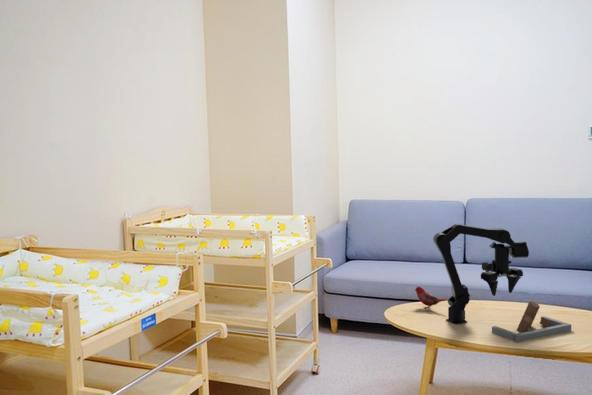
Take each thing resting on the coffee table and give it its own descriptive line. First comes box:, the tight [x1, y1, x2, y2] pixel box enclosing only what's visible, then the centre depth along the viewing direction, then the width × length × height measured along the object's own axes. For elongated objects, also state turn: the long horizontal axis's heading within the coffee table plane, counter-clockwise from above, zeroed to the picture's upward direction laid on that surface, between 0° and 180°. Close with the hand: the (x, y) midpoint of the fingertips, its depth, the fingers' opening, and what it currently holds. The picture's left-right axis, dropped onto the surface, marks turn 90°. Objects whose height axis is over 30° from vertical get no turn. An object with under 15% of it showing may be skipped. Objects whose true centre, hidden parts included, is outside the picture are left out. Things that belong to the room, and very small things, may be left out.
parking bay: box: [491, 315, 572, 344], centre depth 207 cm, size 29×13×2 cm, turn 113°
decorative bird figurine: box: [414, 286, 448, 310], centre depth 242 cm, size 3×18×10 cm, turn 43°
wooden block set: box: [516, 300, 551, 334], centre depth 210 cm, size 18×9×10 cm, turn 127°
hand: (502, 294), depth 221 cm, fingers open, 9 cm apart
